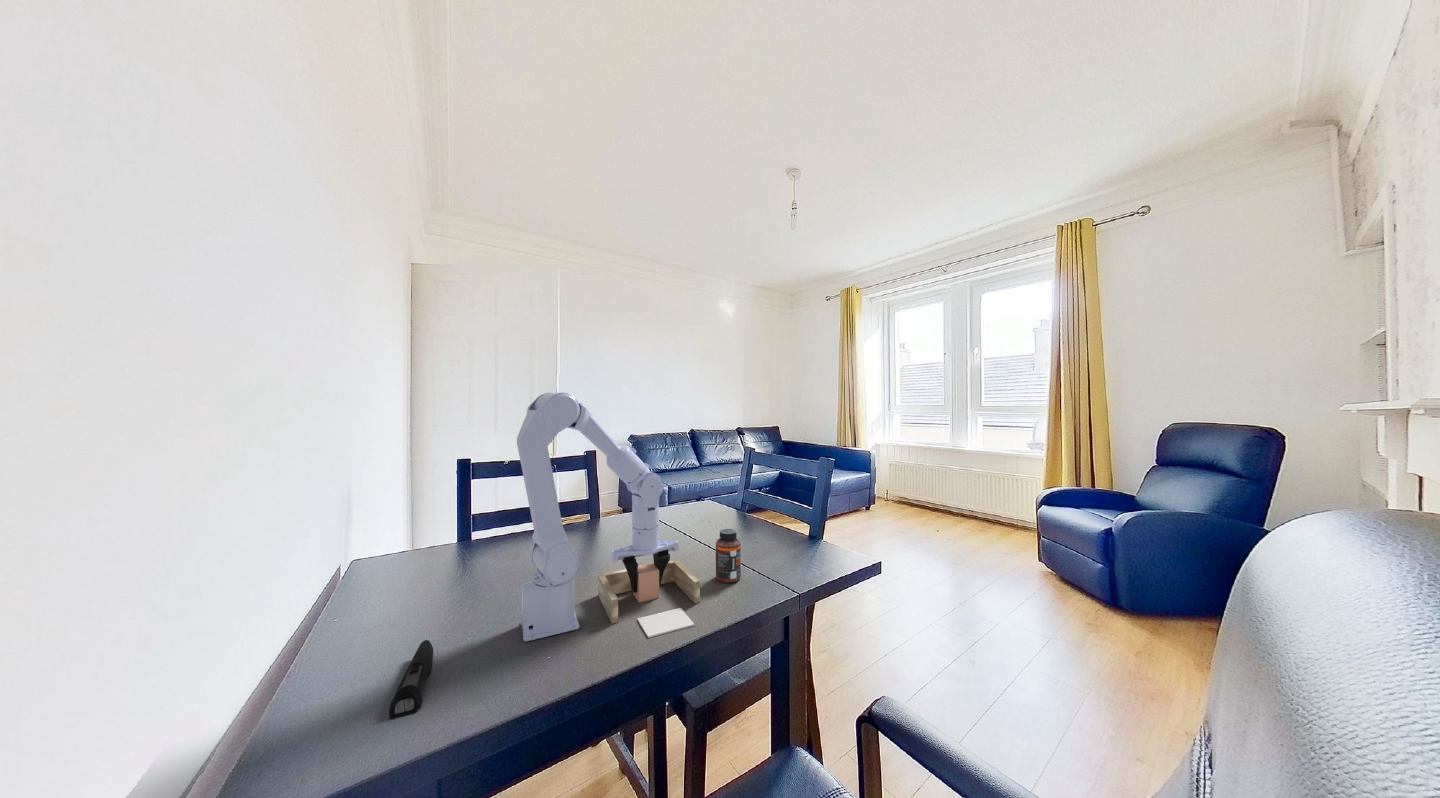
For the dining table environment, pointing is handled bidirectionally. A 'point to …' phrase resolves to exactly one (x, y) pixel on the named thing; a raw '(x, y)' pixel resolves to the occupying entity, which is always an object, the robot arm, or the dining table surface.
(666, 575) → the wooden u-shaped frame
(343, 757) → the dining table surface
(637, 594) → the block
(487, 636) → the dining table surface
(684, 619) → the pad
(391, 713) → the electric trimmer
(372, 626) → the dining table surface
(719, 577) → the supplement bottle
